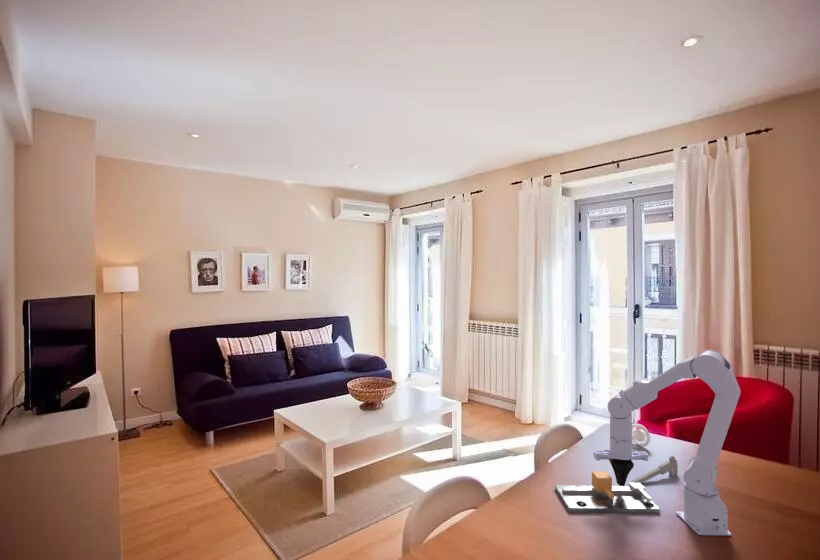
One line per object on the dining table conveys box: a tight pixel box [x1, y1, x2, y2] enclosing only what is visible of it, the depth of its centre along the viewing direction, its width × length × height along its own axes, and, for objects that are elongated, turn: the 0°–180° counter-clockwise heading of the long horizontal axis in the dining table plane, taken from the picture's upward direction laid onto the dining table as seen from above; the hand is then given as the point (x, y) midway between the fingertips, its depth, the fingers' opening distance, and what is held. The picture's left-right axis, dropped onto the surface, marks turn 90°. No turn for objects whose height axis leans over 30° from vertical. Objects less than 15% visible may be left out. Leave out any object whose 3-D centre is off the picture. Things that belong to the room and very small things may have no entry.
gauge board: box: [554, 482, 661, 514], centre depth 118 cm, size 12×24×3 cm, turn 88°
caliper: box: [626, 455, 679, 486], centre depth 130 cm, size 20×1×6 cm, turn 112°
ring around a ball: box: [632, 423, 651, 448], centre depth 154 cm, size 8×6×8 cm
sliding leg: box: [591, 470, 614, 504], centre depth 118 cm, size 8×4×5 cm, turn 178°
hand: (620, 484), depth 120 cm, fingers closed
